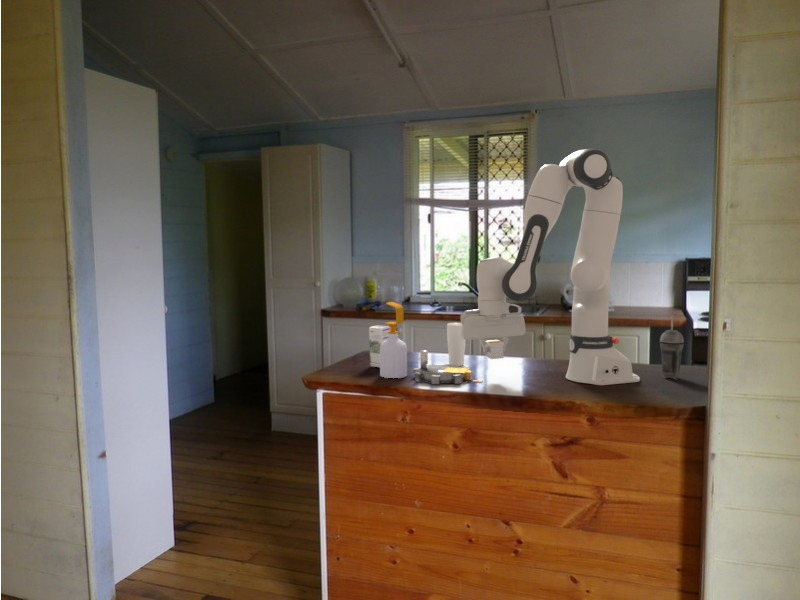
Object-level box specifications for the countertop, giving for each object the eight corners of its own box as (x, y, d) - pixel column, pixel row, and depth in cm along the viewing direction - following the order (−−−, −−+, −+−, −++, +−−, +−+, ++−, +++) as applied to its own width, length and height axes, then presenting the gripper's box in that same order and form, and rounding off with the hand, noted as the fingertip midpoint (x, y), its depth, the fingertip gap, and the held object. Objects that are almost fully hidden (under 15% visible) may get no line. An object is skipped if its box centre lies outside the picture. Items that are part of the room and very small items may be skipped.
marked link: (498, 355, 199) (497, 339, 199) (503, 358, 193) (502, 341, 193) (486, 356, 199) (485, 340, 198) (491, 359, 193) (490, 342, 193)
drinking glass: (466, 363, 223) (465, 322, 222) (466, 367, 216) (466, 325, 215) (447, 363, 224) (447, 322, 222) (446, 367, 217) (446, 325, 215)
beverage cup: (658, 379, 195) (660, 316, 193) (657, 374, 201) (659, 314, 199) (684, 381, 192) (686, 317, 190) (682, 376, 199) (684, 314, 197)
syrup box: (391, 365, 221) (391, 325, 219) (382, 368, 216) (381, 327, 214) (378, 364, 224) (377, 324, 222) (369, 367, 219) (368, 326, 217)
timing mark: (472, 381, 195) (472, 380, 195) (473, 381, 196) (473, 380, 196) (481, 382, 193) (481, 381, 193) (482, 381, 194) (482, 380, 194)
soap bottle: (389, 372, 210) (388, 300, 208) (412, 374, 206) (411, 301, 203) (374, 377, 203) (373, 303, 200) (398, 380, 198) (397, 304, 196)
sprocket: (421, 370, 211) (421, 345, 210) (476, 373, 205) (476, 347, 205) (406, 382, 193) (405, 355, 192) (465, 386, 187) (465, 358, 187)
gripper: (462, 311, 191) (464, 355, 192) (526, 306, 193) (528, 350, 194) (457, 309, 197) (460, 352, 198) (520, 305, 199) (522, 347, 200)
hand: (494, 351), depth 196 cm, fingers closed on marked link, 4 cm apart
